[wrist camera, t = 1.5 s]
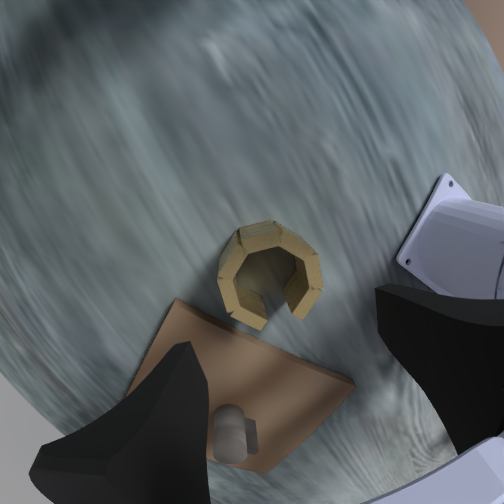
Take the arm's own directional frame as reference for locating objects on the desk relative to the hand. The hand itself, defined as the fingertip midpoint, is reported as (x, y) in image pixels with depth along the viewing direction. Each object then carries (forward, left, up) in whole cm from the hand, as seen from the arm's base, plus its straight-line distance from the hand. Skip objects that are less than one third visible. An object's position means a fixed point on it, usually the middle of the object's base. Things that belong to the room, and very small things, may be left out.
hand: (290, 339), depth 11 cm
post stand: (-4, +12, -10) cm, 16 cm away
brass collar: (0, 0, -10) cm, 10 cm away
